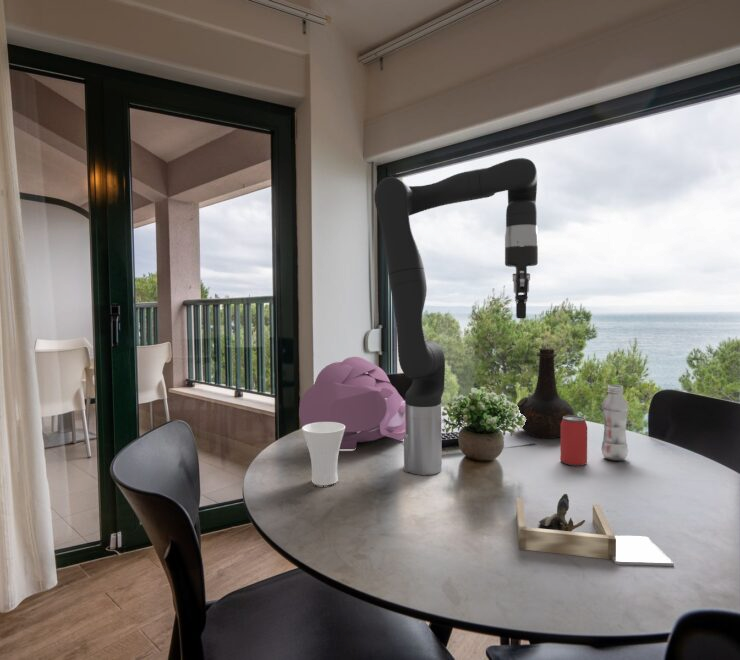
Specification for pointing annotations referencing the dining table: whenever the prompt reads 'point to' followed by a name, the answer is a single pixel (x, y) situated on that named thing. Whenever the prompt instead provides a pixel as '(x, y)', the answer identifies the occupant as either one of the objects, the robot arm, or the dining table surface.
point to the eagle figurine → (561, 517)
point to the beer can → (573, 441)
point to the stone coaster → (639, 552)
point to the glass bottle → (545, 402)
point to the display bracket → (568, 537)
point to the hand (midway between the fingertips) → (521, 318)
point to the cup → (324, 450)
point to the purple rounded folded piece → (355, 402)
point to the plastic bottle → (615, 424)
